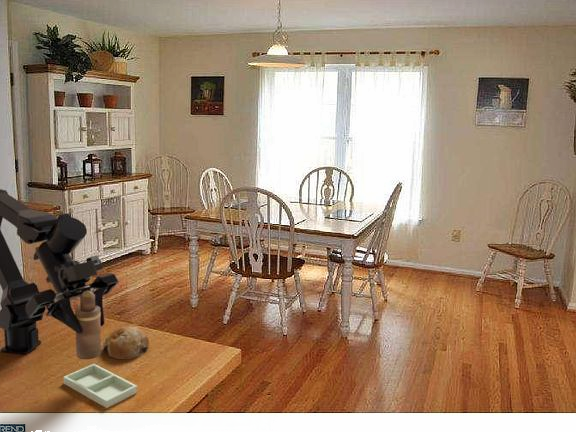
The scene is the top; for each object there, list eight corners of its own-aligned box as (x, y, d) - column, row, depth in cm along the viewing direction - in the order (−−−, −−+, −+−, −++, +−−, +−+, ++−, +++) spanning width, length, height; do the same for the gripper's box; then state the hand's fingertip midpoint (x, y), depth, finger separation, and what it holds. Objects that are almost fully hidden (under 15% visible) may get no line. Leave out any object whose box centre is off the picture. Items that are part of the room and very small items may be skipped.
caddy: (63, 385, 110) (63, 376, 110) (94, 371, 116) (94, 363, 116) (106, 410, 102) (106, 401, 102) (137, 394, 108) (137, 385, 108)
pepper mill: (71, 358, 108) (69, 293, 105) (83, 347, 113) (82, 285, 110) (94, 360, 107) (92, 296, 104) (105, 349, 112) (104, 287, 109)
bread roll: (128, 377, 122) (142, 350, 120) (91, 354, 123) (104, 327, 121) (147, 358, 131) (160, 333, 129) (113, 336, 132) (125, 311, 130)
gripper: (30, 254, 100) (66, 325, 96) (113, 237, 115) (146, 297, 111) (10, 283, 106) (43, 351, 102) (91, 263, 121) (122, 322, 117)
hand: (92, 328), depth 108 cm, fingers closed on pepper mill, 5 cm apart
